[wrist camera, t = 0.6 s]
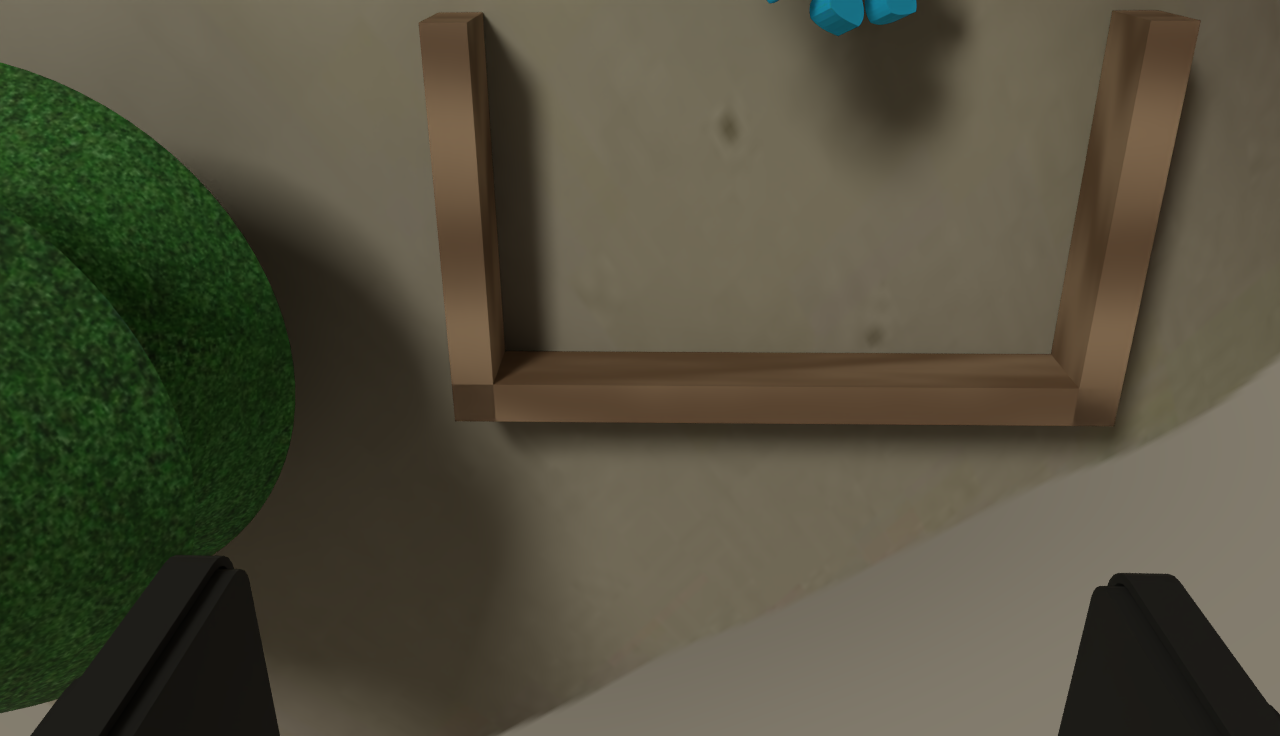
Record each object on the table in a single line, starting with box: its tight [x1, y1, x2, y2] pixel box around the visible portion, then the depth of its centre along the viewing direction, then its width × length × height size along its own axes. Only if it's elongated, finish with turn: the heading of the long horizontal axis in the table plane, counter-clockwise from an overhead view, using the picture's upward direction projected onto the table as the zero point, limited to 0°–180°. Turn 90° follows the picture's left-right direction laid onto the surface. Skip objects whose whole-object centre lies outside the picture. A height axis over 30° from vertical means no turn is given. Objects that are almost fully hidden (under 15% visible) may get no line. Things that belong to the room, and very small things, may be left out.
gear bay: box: [419, 10, 1201, 426], centre depth 36 cm, size 14×24×3 cm, turn 90°
